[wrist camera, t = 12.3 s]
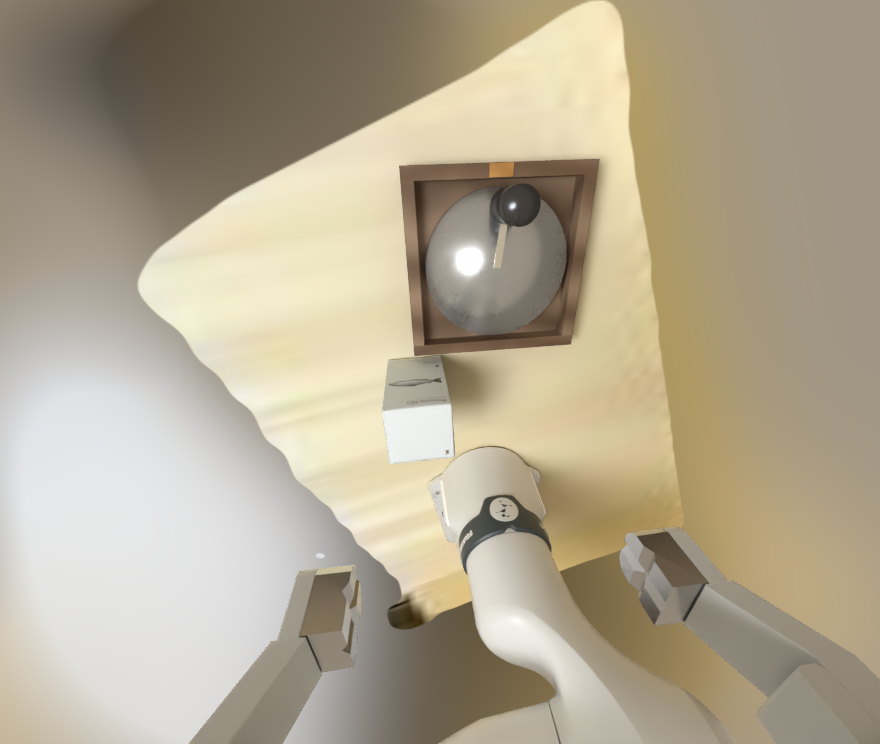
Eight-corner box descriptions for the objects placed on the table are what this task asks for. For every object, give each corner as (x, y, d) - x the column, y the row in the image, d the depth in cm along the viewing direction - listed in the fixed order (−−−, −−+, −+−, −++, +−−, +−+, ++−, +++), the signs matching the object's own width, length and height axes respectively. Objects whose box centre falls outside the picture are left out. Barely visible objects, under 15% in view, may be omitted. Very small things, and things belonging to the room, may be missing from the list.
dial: (543, 332, 43) (566, 353, 37) (421, 327, 41) (424, 348, 35) (575, 193, 36) (610, 191, 30) (429, 179, 34) (434, 173, 28)
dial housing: (560, 336, 44) (571, 344, 42) (414, 346, 43) (414, 356, 40) (584, 162, 35) (600, 158, 32) (399, 169, 34) (399, 165, 31)
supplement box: (441, 353, 44) (454, 403, 33) (444, 400, 47) (456, 460, 36) (386, 357, 43) (380, 410, 32) (393, 404, 47) (389, 467, 36)
